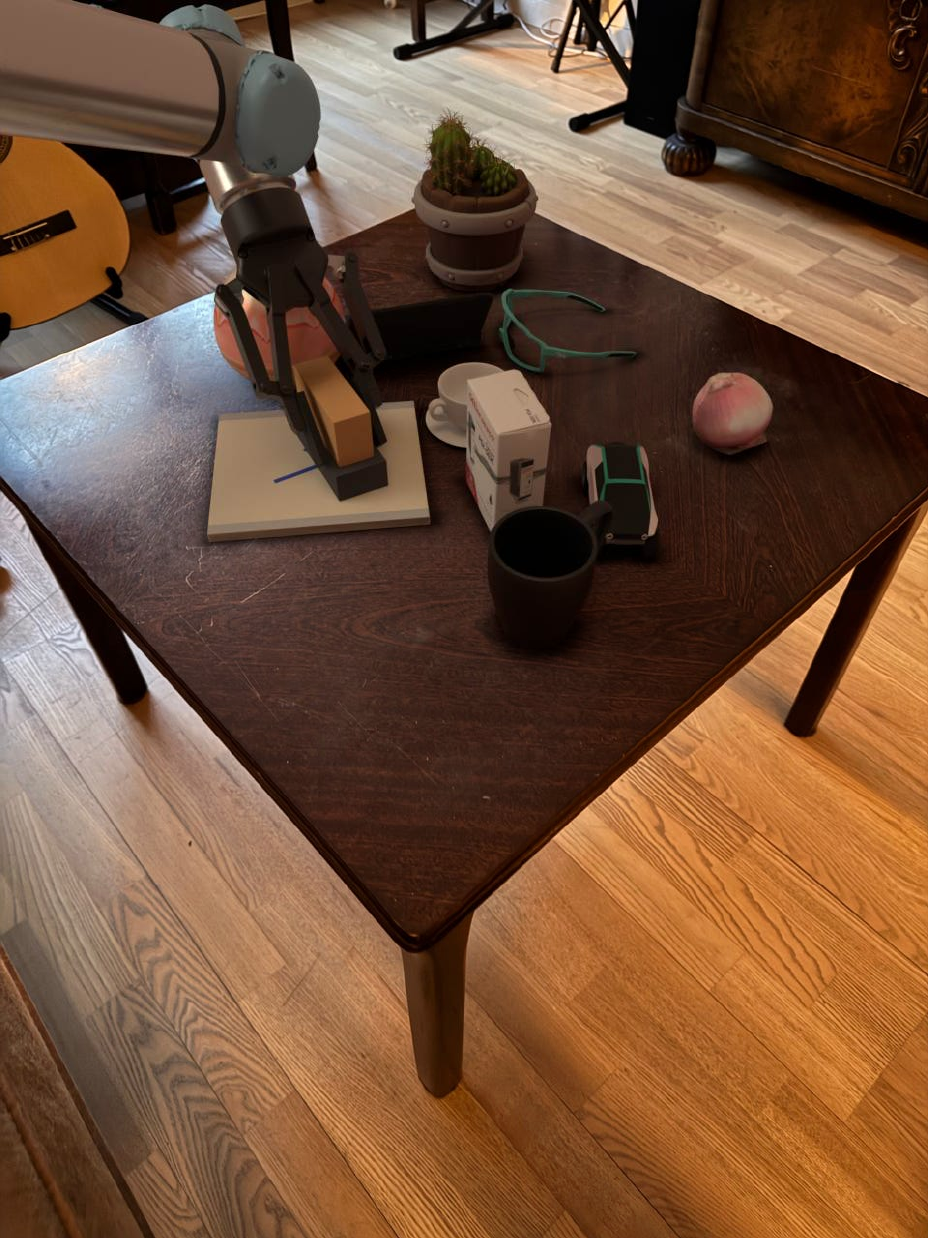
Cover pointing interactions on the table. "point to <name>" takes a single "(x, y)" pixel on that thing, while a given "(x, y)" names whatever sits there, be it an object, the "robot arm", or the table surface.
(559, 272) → the table surface
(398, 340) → the game console
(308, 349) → the vase
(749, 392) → the onion
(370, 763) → the table surface
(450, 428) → the teacup
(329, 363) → the eraser
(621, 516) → the toy car
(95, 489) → the table surface
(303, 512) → the board
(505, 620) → the mug
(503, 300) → the sunglasses
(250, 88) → the robot arm
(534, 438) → the ink box
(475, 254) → the flowerpot
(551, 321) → the table surface
